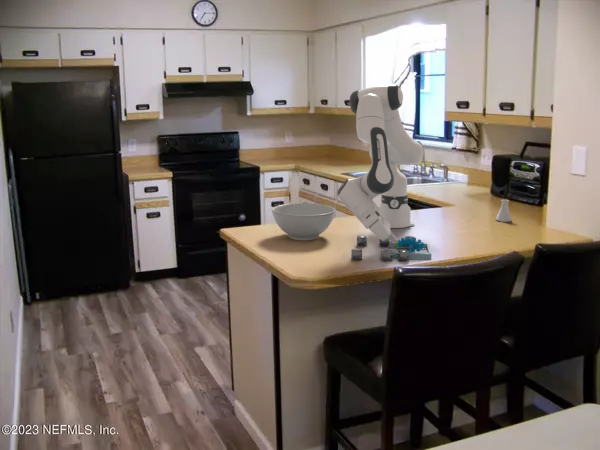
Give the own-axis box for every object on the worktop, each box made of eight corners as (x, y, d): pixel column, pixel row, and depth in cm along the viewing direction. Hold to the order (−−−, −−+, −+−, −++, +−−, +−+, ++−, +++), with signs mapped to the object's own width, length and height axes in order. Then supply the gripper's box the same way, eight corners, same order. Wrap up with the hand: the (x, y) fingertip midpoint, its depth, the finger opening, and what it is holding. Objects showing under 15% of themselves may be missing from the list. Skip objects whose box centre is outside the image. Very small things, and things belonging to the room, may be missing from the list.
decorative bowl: (327, 228, 277) (328, 202, 274) (341, 243, 251) (342, 214, 248) (268, 231, 272) (268, 204, 270) (276, 246, 247) (276, 216, 244)
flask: (505, 218, 298) (506, 198, 295) (514, 221, 291) (516, 201, 289) (492, 219, 295) (493, 199, 293) (501, 222, 289) (503, 201, 287)
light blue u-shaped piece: (389, 247, 245) (389, 242, 245) (428, 248, 243) (428, 243, 243) (389, 257, 230) (389, 252, 230) (431, 259, 228) (431, 253, 228)
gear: (426, 248, 236) (421, 234, 229) (425, 262, 233) (420, 248, 226) (398, 249, 241) (392, 236, 233) (397, 262, 237) (390, 249, 230)
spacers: (354, 242, 252) (354, 234, 251) (414, 244, 249) (414, 236, 248) (351, 260, 226) (351, 251, 226) (417, 262, 223) (417, 253, 222)
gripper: (365, 215, 245) (389, 240, 246) (363, 226, 225) (389, 253, 226) (377, 205, 244) (401, 230, 244) (376, 215, 224) (402, 242, 224)
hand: (395, 241), depth 235 cm, fingers closed
